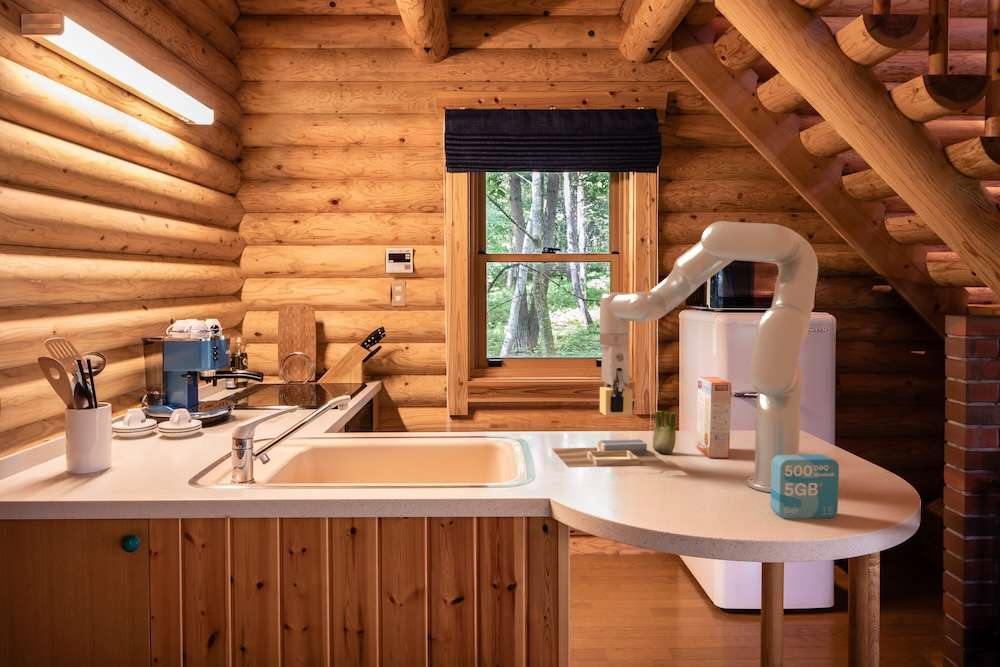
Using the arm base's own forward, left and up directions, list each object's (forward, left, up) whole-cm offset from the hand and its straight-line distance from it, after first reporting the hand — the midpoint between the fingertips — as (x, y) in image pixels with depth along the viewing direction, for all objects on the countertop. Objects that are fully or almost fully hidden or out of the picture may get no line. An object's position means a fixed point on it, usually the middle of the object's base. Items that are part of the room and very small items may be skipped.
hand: (613, 409), depth 191 cm
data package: (-46, -27, -15) cm, 55 cm away
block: (0, -1, -1) cm, 1 cm away
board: (+5, 0, -15) cm, 16 cm away
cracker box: (+11, -32, -15) cm, 37 cm away
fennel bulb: (+12, -18, -15) cm, 27 cm away
